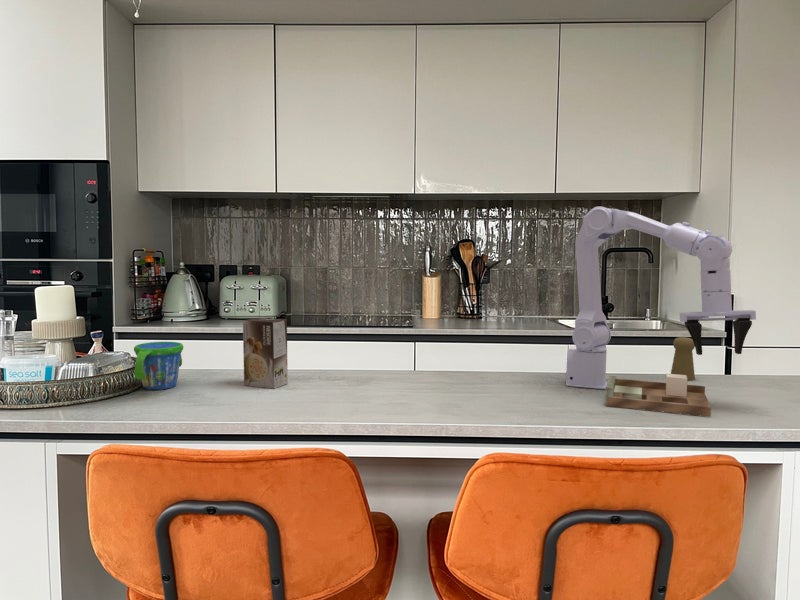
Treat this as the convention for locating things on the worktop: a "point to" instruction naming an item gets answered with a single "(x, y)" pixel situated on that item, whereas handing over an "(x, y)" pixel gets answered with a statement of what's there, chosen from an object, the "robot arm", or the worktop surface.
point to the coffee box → (265, 352)
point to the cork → (683, 358)
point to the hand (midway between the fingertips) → (718, 353)
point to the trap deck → (656, 397)
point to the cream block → (676, 385)
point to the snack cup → (158, 364)
